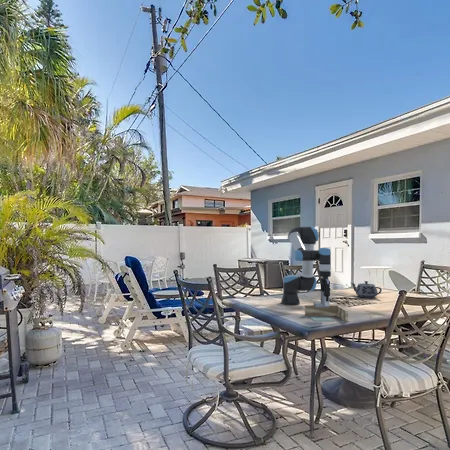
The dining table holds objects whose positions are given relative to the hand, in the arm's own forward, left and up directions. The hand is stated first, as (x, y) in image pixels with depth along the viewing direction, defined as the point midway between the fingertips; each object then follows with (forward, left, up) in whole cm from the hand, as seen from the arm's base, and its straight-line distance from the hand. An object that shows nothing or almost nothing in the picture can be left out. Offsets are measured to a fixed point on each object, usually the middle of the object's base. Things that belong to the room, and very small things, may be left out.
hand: (325, 305), depth 221 cm
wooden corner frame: (-4, +1, -9) cm, 10 cm away
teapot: (-88, +64, -10) cm, 109 cm away
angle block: (0, -3, -1) cm, 3 cm away
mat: (0, -3, -9) cm, 10 cm away
